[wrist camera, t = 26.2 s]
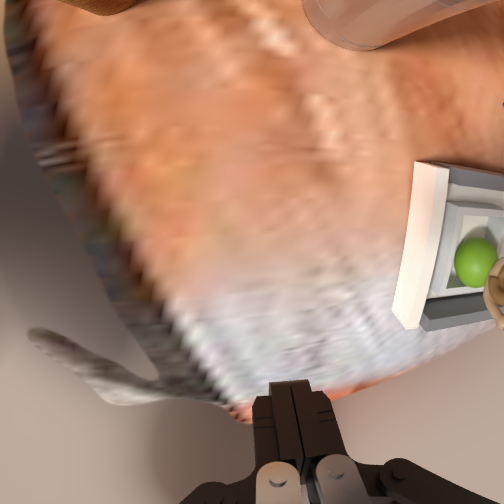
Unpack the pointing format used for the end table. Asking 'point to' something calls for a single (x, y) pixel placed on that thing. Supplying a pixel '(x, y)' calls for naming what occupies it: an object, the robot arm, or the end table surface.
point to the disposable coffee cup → (101, 5)
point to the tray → (442, 238)
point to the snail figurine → (482, 273)
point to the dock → (472, 304)
